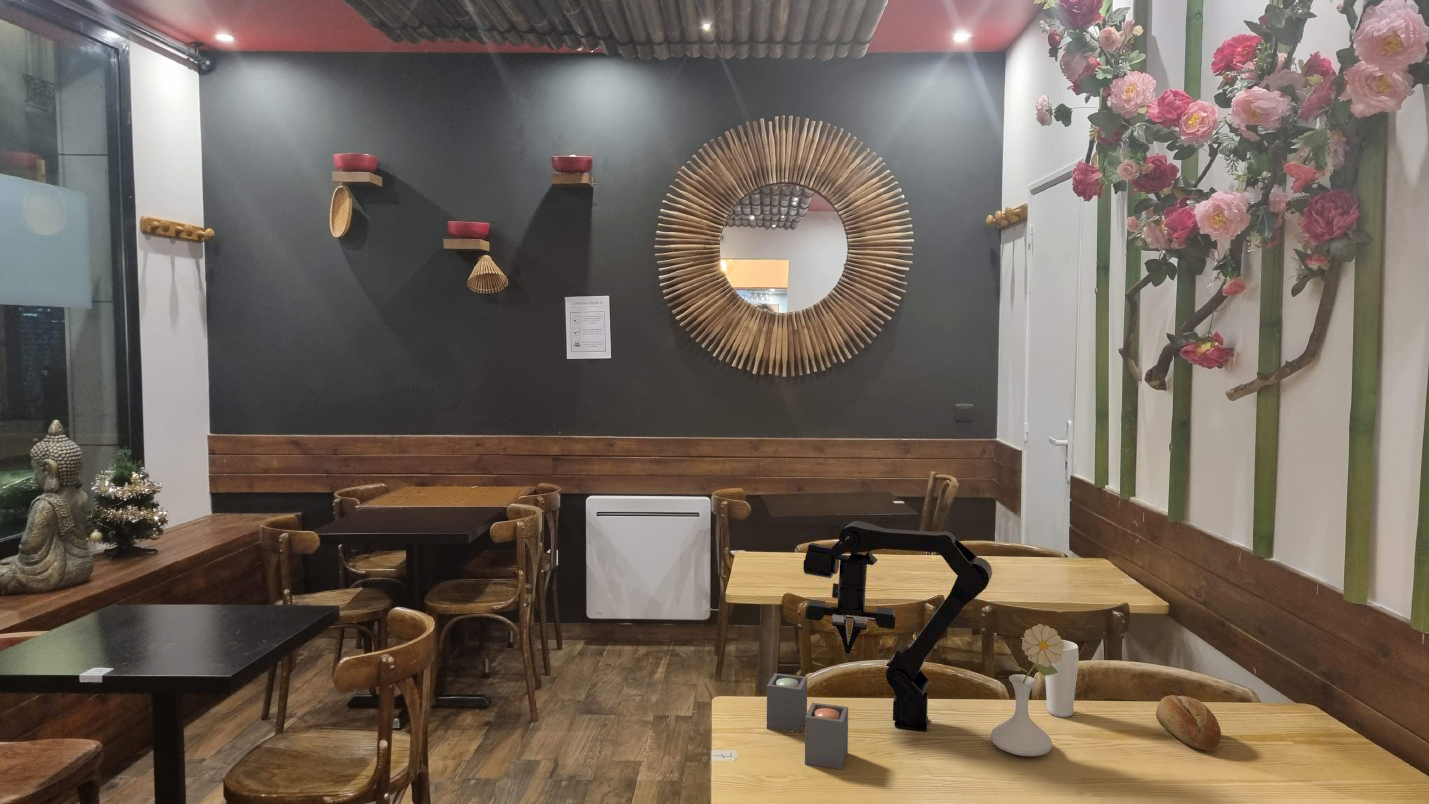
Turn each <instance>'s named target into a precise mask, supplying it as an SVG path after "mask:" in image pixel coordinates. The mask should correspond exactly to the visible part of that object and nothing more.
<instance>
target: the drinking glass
mask: <svg viewBox="0 0 1429 804" xmlns="http://www.w3.org/2000/svg"><path fill="white" fill-rule="evenodd" d="M1061 641H1063V642H1064V648H1063V651H1064V654H1062V660H1061V661H1058V662H1057V663H1056V664H1053V663H1052V666H1053V667H1054V668H1055V669H1056V670H1057V671H1058V673H1056V674H1053V675H1047V676H1045V675H1044V679H1045V691H1046V692H1045V694H1046V695H1045V696H1046V697H1045V698H1046V711H1047V712H1048V713H1049V714H1050V715H1052V716H1055V717H1059V718H1070V717H1071V716H1072V715H1073V714H1074V704H1075V695H1076V694H1075V693H1076V689H1077V688H1076V686H1077V677H1078V672H1079V670H1078V669H1079V646H1078V644H1077V643H1075V642H1073V641H1070V640H1065V639H1061Z"/></svg>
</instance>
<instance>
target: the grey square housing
mask: <svg viewBox="0 0 1429 804" xmlns="http://www.w3.org/2000/svg"><path fill="white" fill-rule="evenodd" d="M821 708H830V709H834V710H836V711H838V712H839V720H837V719H830V718H822V717H815V711H816V710H818V709H821ZM848 747H849V707H848V706H844V705H843V706H842V705H835V704H828V703H827V704H826V703H820V702H811V704H810V706H809V708H808V709H807V714H806V716H805V724H804V765H806V766H814V767H821V768H827V767H829V768H828V769H835V770H841V771H842V770H843V768H844V766H843V765H845V763H844V762H846V759H847V757H848V756H847V755H848V752H849V748H848Z"/></svg>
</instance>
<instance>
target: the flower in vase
mask: <svg viewBox="0 0 1429 804" xmlns="http://www.w3.org/2000/svg"><path fill="white" fill-rule="evenodd" d="M1061 640H1062V637H1061V636H1060V635H1059V634H1058V631H1057V630H1056V629H1055V628H1053V627H1052V628H1051V627H1050V626H1049V625H1043V624H1041V623H1038V624H1037V625H1034V626H1032V627H1031V628H1028V629H1026V630H1025V632H1024V634H1023V638H1022V644H1021V649H1022V650H1023V651H1024V655H1025V656H1027V659H1028V661H1029V662H1032V663H1033V665H1032V667H1031V668H1030V669H1029V671H1028V670H1026V669H1025V668H1024V667H1020V666H1018V665H1016V664H1015V663H1013V662H1012V661H1011V660H1010V661H1009V663H1010V665H1011V666H1012V667H1014V668H1016V669H1018V670H1021V671H1022V672H1025V673H1026V674H1012V675H1009V677H1008V680H1009V681H1010V683H1011V684H1012V686H1013V689H1014V695H1015V711H1014V713H1013V715H1012V716H1011V717H1009V718H1008V719H1006V720H1004V721H1002V722H1001V723H999V724H997V725H996V726H995V727H993V728H992V730H991V733H990V735H989V737H990V739H991V741H992V743H993V745H995V747H997V748H999V749H1000V750H1002V751H1004V752H1007V753H1009V754H1013V755H1017V756H1022V757H1038V756H1039V757H1040V756H1043V755H1046V754H1048V753H1050V751H1051V750H1052V748H1053V742H1052V741H1053V740H1051V737H1050V736H1049V735H1048V734H1047V733H1046V731H1044V730H1043V729H1042V727H1040V726H1039V725H1038V724H1037V723H1036V722H1034V721H1033V720H1032V718H1031V717H1030V715H1029V697H1030V694H1031V691H1032V688H1033V687H1034V685H1035V684H1036V683H1037V680H1036V678H1034V677H1032V676H1029V675H1030V674H1031V672H1032V671H1033V670H1034V669H1036V670H1037V671H1038V672H1039V673H1040V675H1042V676H1044V677H1045V676H1047V675H1053V674H1056V673H1058V671H1057V670H1056V669H1055V668H1054V667H1053V666H1052V663H1053V664H1056V663H1057V662H1058V661H1061V660H1062V654H1064V651H1063V648H1064V642H1063V641H1061Z"/></svg>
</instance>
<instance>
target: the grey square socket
mask: <svg viewBox="0 0 1429 804" xmlns="http://www.w3.org/2000/svg"><path fill="white" fill-rule="evenodd" d="M782 678H791V679H795V680H797V681H798V688H796V687H788V686H780V685H776V681H777V680H778V679H782ZM807 712H808V677H807V676H801V675H794V674H793V675H792V674H786V673H785V674H783V673H776V672H774V674H773V675H772V676H771V678H770V680H769V681H768V683H767V684H766V729H767V728H768V729H767V730H774V729H775V731H781V730H784V731H783V732H788V731H793V732H792V733H796V732H801V733H802V730H803V728H804V726H805V724H804V723H805V716H806V714H807ZM803 725H804V726H803ZM802 727H803V728H802ZM785 730H786V731H785Z"/></svg>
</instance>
